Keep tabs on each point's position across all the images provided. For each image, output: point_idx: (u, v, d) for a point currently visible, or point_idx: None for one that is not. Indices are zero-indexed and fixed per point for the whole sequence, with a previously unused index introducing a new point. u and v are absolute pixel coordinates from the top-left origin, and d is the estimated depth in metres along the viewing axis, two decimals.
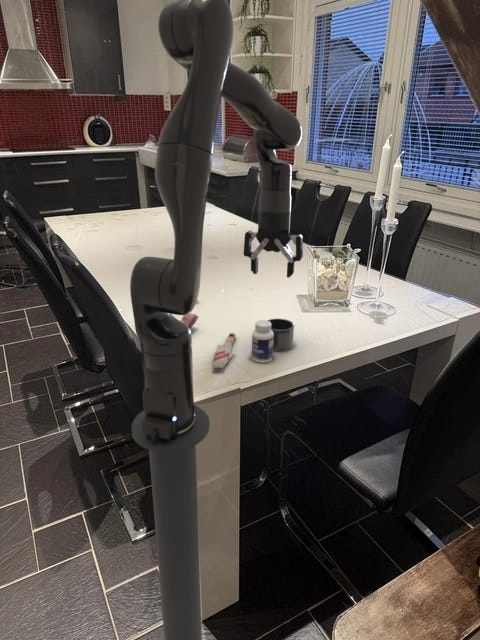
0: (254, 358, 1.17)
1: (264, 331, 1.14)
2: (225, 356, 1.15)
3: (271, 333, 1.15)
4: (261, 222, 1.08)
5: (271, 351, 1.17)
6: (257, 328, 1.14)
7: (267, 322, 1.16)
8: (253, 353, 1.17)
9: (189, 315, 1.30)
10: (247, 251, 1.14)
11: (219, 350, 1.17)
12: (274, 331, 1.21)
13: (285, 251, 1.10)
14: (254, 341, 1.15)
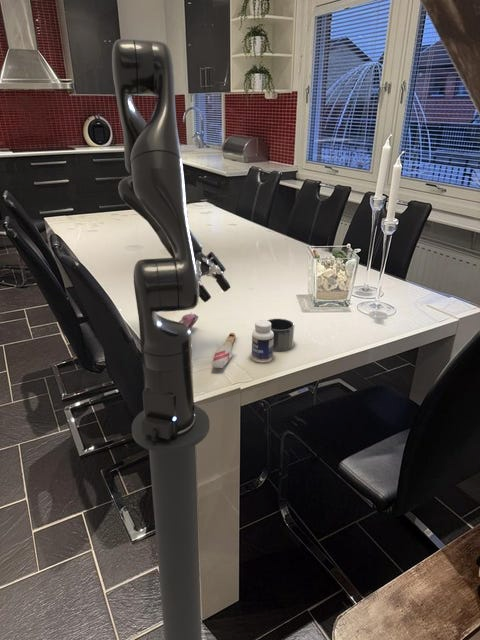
0: (254, 358, 1.17)
1: (264, 331, 1.14)
2: (225, 356, 1.15)
3: (271, 333, 1.15)
4: None
5: (271, 351, 1.17)
6: (257, 328, 1.14)
7: (267, 322, 1.16)
8: (253, 353, 1.17)
9: (189, 315, 1.30)
10: None
11: (219, 350, 1.17)
12: (274, 331, 1.21)
13: (214, 265, 1.15)
14: (254, 341, 1.15)
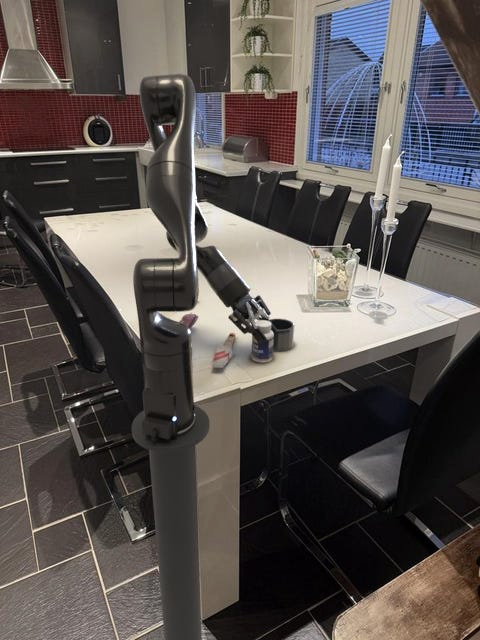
0: (254, 358, 1.17)
1: (264, 331, 1.14)
2: (225, 356, 1.15)
3: (271, 333, 1.15)
4: (237, 289, 1.12)
5: (271, 351, 1.17)
6: None
7: (267, 322, 1.16)
8: (253, 353, 1.17)
9: (189, 315, 1.30)
10: (248, 324, 1.11)
11: (219, 350, 1.17)
12: None
13: (261, 308, 1.17)
14: (254, 341, 1.15)
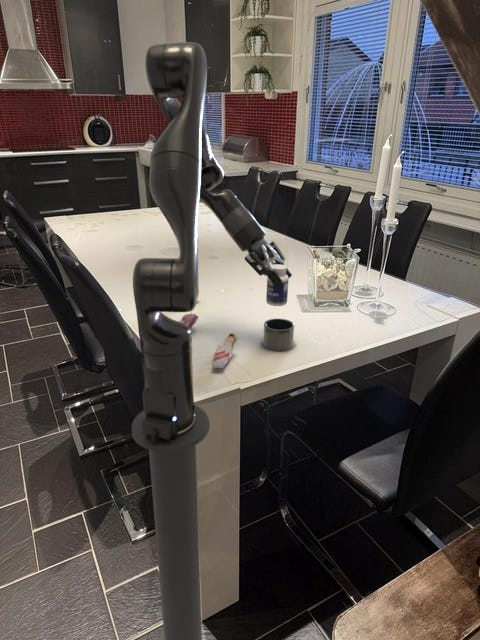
0: (269, 302, 1.18)
1: (279, 274, 1.15)
2: (225, 356, 1.15)
3: (286, 276, 1.16)
4: (253, 232, 1.14)
5: (286, 295, 1.18)
6: None
7: (282, 266, 1.17)
8: (268, 297, 1.18)
9: (189, 315, 1.30)
10: (264, 265, 1.12)
11: (219, 350, 1.17)
12: (274, 331, 1.21)
13: (276, 253, 1.18)
14: (269, 284, 1.16)
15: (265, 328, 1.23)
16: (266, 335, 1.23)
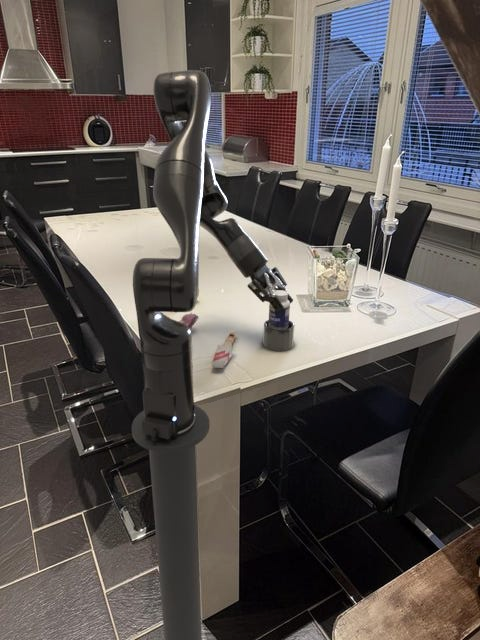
0: (271, 326, 1.22)
1: (281, 300, 1.19)
2: (225, 356, 1.15)
3: (288, 302, 1.20)
4: (256, 259, 1.18)
5: (287, 320, 1.22)
6: None
7: (284, 292, 1.21)
8: (270, 322, 1.22)
9: (189, 315, 1.30)
10: (267, 292, 1.16)
11: (219, 350, 1.17)
12: (274, 331, 1.21)
13: (278, 279, 1.22)
14: (271, 310, 1.21)
15: (265, 328, 1.23)
16: (266, 335, 1.23)
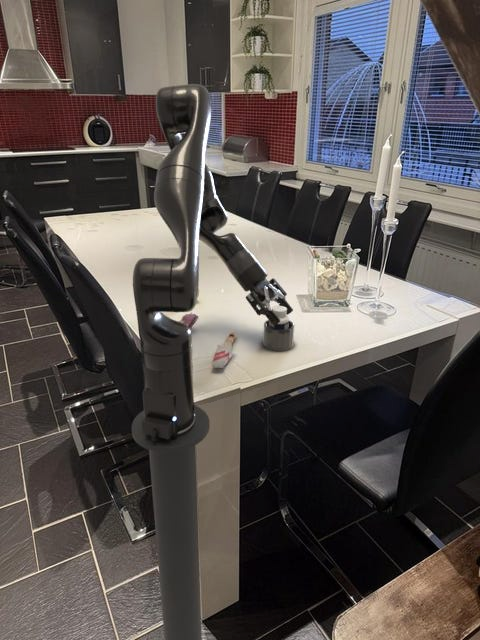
0: None
1: (280, 316, 1.21)
2: (225, 356, 1.15)
3: (287, 318, 1.22)
4: (256, 274, 1.19)
5: None
6: None
7: (283, 307, 1.23)
8: None
9: (189, 315, 1.30)
10: (263, 305, 1.17)
11: (219, 350, 1.17)
12: (274, 331, 1.21)
13: (278, 291, 1.24)
14: (271, 325, 1.22)
15: (265, 328, 1.23)
16: (266, 335, 1.23)
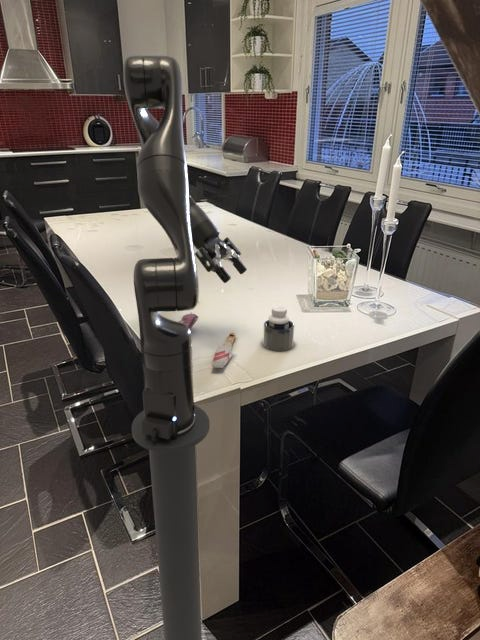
0: None
1: (280, 316, 1.21)
2: (225, 356, 1.15)
3: (287, 318, 1.22)
4: (206, 230, 1.17)
5: None
6: (274, 313, 1.21)
7: (283, 307, 1.23)
8: None
9: (189, 315, 1.30)
10: (213, 262, 1.14)
11: (219, 350, 1.17)
12: (274, 331, 1.21)
13: (231, 249, 1.22)
14: (271, 325, 1.22)
15: (265, 328, 1.23)
16: (266, 335, 1.23)
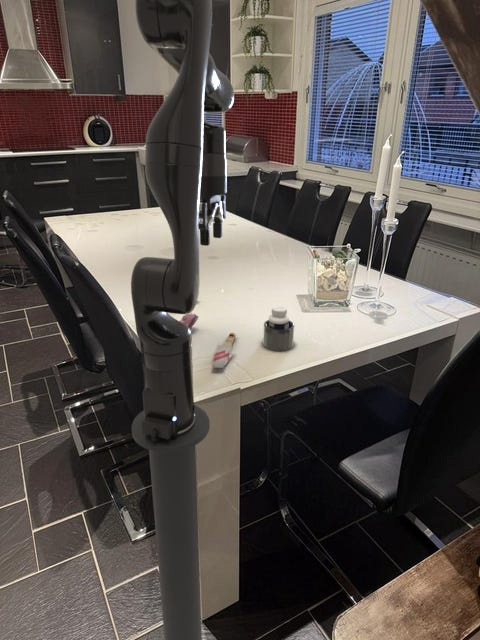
0: None
1: (280, 316, 1.21)
2: (225, 356, 1.15)
3: (287, 318, 1.22)
4: (218, 187, 1.07)
5: None
6: (274, 313, 1.21)
7: (283, 307, 1.23)
8: None
9: (189, 315, 1.30)
10: (206, 223, 1.08)
11: (219, 350, 1.17)
12: (274, 331, 1.21)
13: (222, 212, 1.15)
14: (271, 325, 1.22)
15: (265, 328, 1.23)
16: (266, 335, 1.23)
